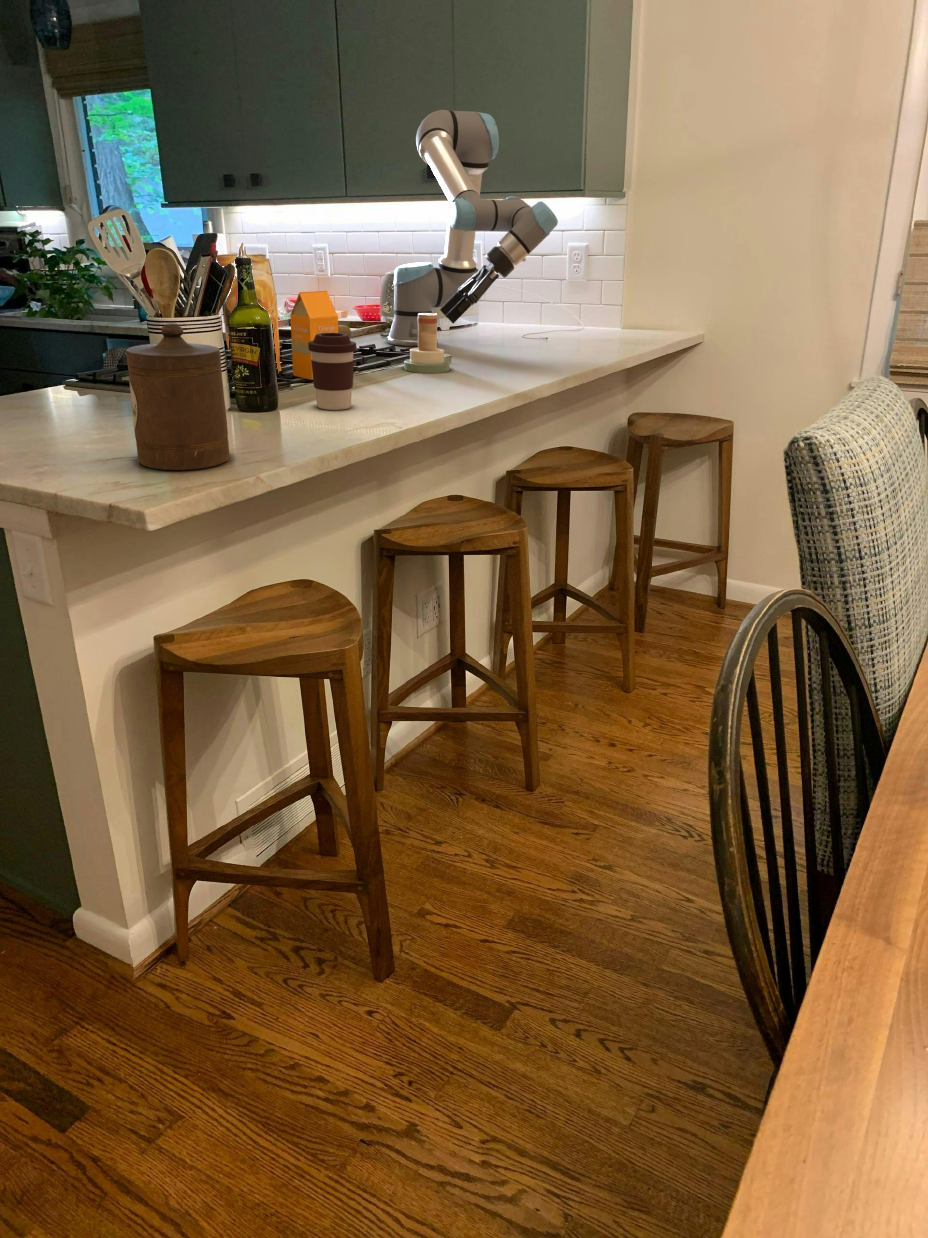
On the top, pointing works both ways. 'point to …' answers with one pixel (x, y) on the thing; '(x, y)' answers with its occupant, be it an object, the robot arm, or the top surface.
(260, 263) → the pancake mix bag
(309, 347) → the coffee cup
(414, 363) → the disc stack
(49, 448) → the top surface
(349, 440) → the top surface
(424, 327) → the cylinder
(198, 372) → the wooden container
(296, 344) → the orange juice
